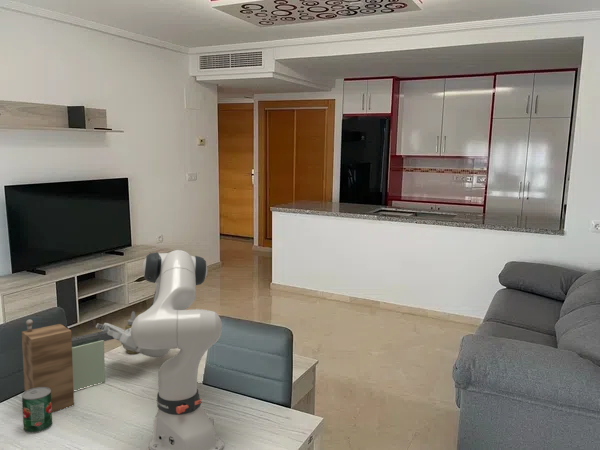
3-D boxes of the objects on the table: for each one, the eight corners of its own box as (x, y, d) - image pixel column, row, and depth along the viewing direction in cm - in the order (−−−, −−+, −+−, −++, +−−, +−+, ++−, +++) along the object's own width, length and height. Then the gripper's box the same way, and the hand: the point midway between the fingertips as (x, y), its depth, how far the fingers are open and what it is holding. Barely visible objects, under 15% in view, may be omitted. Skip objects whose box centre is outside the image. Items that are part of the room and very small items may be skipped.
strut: (114, 338, 184) (114, 331, 183) (59, 352, 169) (58, 343, 169) (111, 336, 186) (110, 329, 185) (56, 349, 171) (55, 341, 171)
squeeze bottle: (140, 355, 206) (139, 314, 204) (121, 355, 206) (120, 314, 204) (146, 348, 214) (145, 309, 212) (128, 348, 214) (127, 308, 212)
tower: (74, 405, 162) (70, 319, 159) (35, 417, 154) (31, 327, 150) (63, 395, 169) (59, 312, 166) (25, 406, 161) (21, 319, 157)
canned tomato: (57, 424, 150) (56, 391, 149) (32, 436, 143) (30, 401, 142) (43, 417, 154) (41, 384, 153) (18, 428, 148) (16, 394, 146)
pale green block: (105, 382, 180) (103, 340, 178) (63, 395, 169) (61, 351, 167) (96, 375, 185) (94, 335, 184) (54, 387, 175) (53, 344, 173)
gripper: (124, 325, 199) (94, 314, 189) (149, 337, 184) (118, 327, 175) (117, 339, 197) (87, 329, 188) (141, 353, 183) (110, 343, 173)
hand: (102, 328), depth 181 cm, fingers open, 8 cm apart
